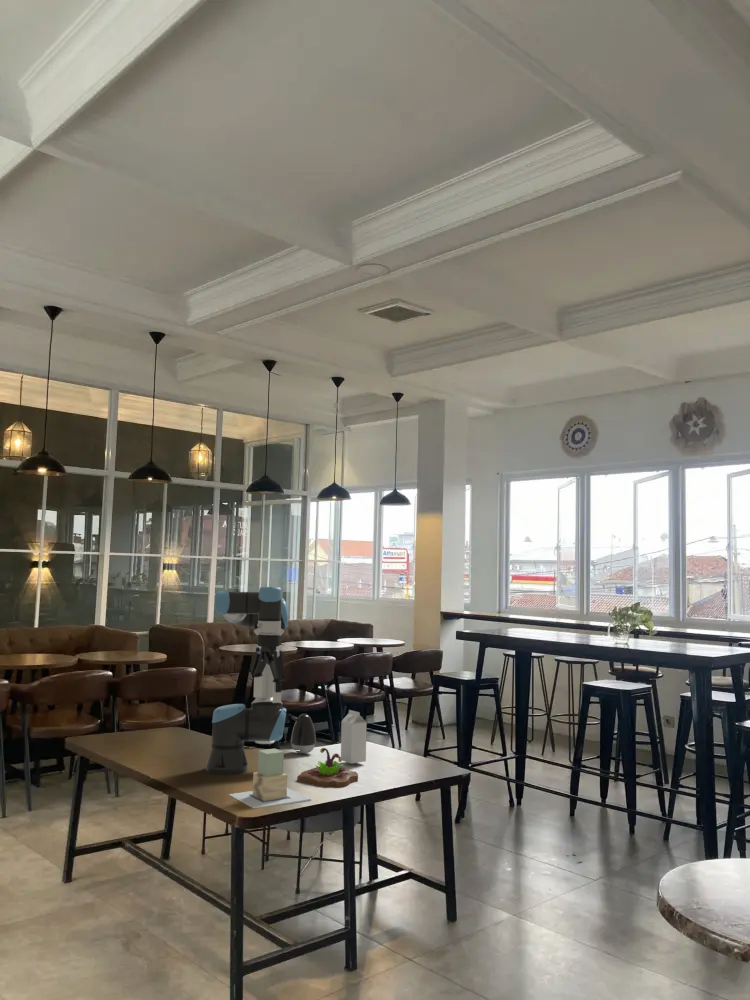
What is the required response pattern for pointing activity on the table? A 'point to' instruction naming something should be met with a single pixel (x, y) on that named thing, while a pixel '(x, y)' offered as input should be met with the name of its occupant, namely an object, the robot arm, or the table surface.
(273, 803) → the blueprint mat
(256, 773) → the maple block
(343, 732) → the milk carton
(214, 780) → the table surface
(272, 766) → the sage block
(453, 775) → the table surface
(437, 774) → the table surface
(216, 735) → the robot arm
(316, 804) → the table surface
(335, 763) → the plant
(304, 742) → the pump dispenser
